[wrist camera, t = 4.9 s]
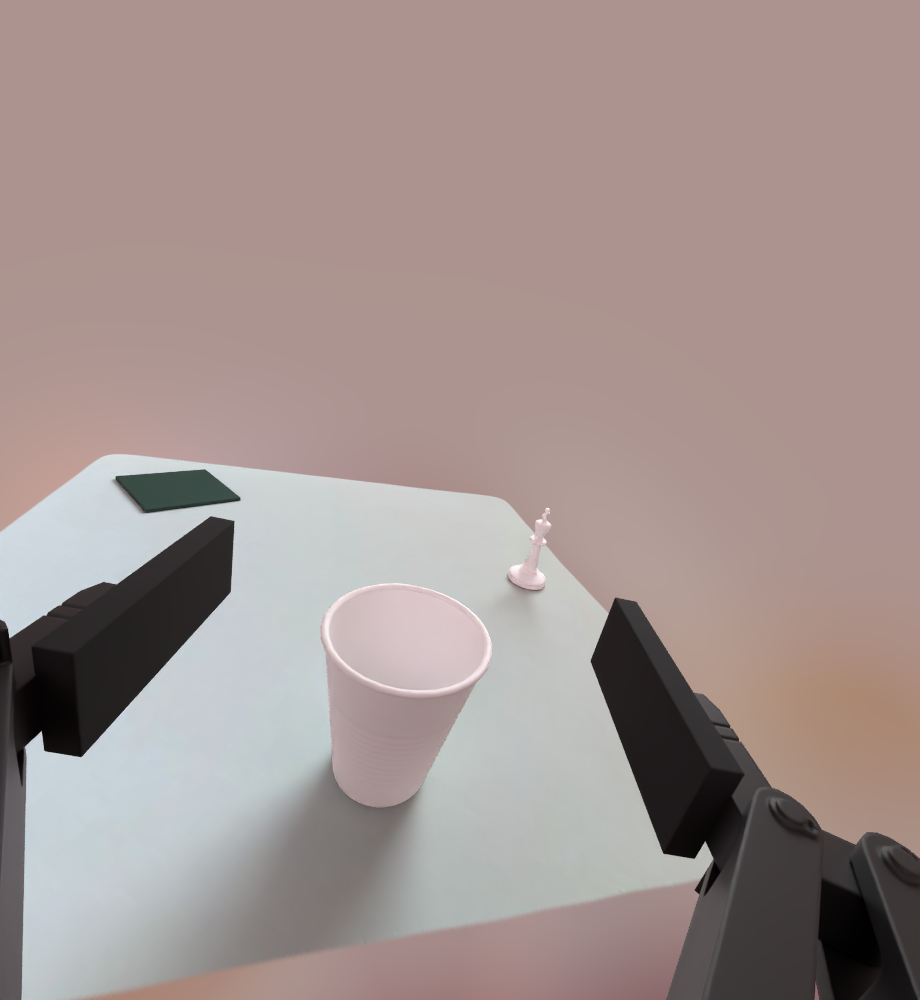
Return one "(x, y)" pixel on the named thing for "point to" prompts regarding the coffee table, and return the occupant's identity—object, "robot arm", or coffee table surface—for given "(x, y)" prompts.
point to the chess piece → (532, 559)
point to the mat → (176, 489)
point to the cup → (396, 684)
